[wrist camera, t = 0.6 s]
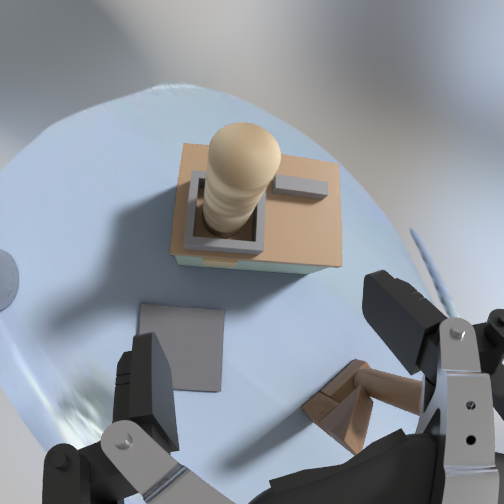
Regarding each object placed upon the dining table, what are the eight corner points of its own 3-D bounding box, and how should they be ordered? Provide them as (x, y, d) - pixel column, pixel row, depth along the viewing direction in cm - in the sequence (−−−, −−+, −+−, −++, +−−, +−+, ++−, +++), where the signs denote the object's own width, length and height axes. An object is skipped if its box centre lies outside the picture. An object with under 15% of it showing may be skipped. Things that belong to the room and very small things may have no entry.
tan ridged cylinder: (200, 235, 32) (204, 181, 18) (204, 193, 33) (212, 118, 19) (244, 239, 32) (280, 189, 19) (247, 198, 33) (281, 127, 20)
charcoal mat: (138, 384, 37) (138, 385, 36) (141, 303, 39) (140, 303, 38) (220, 390, 39) (221, 391, 38) (224, 309, 41) (224, 309, 40)
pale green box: (175, 269, 41) (166, 251, 28) (185, 178, 43) (183, 131, 31) (310, 278, 44) (352, 265, 31) (310, 192, 46) (347, 155, 34)
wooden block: (299, 406, 40) (360, 455, 23) (354, 357, 43) (435, 375, 25) (313, 422, 40) (377, 473, 22) (366, 374, 43) (447, 397, 25)
